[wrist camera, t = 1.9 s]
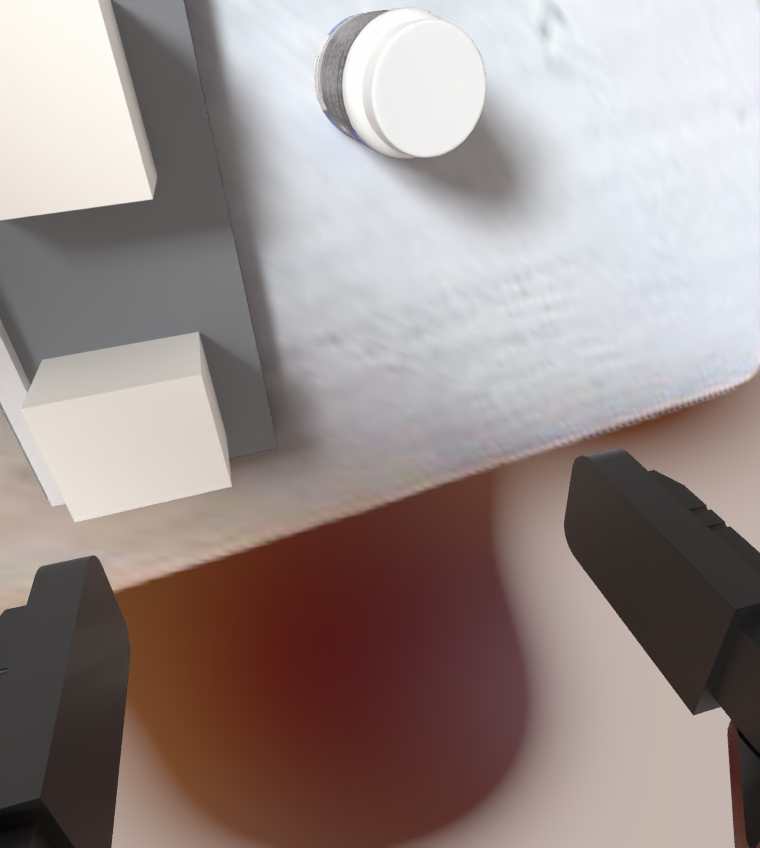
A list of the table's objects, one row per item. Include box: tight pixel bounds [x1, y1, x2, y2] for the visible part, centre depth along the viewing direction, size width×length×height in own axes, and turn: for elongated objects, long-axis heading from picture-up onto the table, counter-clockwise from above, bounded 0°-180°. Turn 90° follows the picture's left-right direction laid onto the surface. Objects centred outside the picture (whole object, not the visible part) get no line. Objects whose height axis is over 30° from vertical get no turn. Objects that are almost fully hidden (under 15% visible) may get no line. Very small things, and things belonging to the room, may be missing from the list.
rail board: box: [0, 0, 278, 522], centre depth 25 cm, size 22×12×6 cm, turn 5°
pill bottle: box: [314, 8, 486, 158], centre depth 23 cm, size 5×5×8 cm
